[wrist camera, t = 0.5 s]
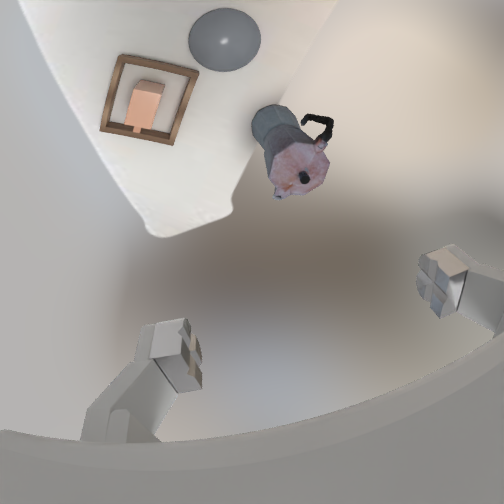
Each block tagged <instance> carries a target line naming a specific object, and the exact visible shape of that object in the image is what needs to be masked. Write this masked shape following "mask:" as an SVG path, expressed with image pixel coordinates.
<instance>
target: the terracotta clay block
mask: <svg viewBox="0 0 504 504" xmlns="http://www.w3.org/2000/svg"><path fill="white" fill-rule="evenodd" d="M164 87H165V85H163V84H159V83H154V82H150V81H145V80H140V81H139V83H138V84H137V85H136V86H135V88H134V89H133V92H132V96H131V99H130V103H129V107H128V110H127V114H126V118H125V122H124V124H125V125H130V126H134V129H133V132H136V133H140V131H141V128H145V129H150V130H151V127H152V124H153V121H154V117H155V114H156V111H157V108H158V105H159V102H160V98H161V95H162V92H163V90H164Z"/></svg>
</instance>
